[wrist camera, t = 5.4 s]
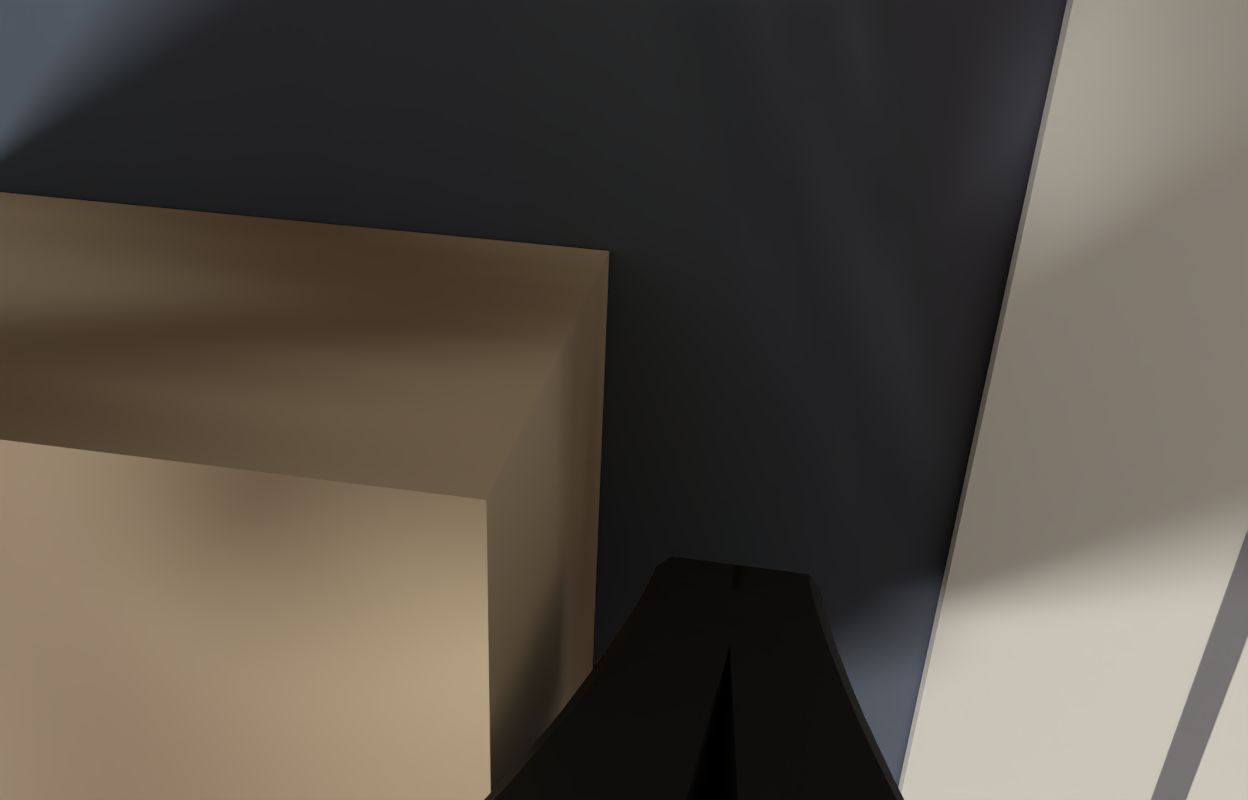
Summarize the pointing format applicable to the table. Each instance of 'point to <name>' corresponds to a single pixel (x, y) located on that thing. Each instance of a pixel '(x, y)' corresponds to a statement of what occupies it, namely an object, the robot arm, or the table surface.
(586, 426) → the oak block
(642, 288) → the table surface
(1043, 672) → the letter
